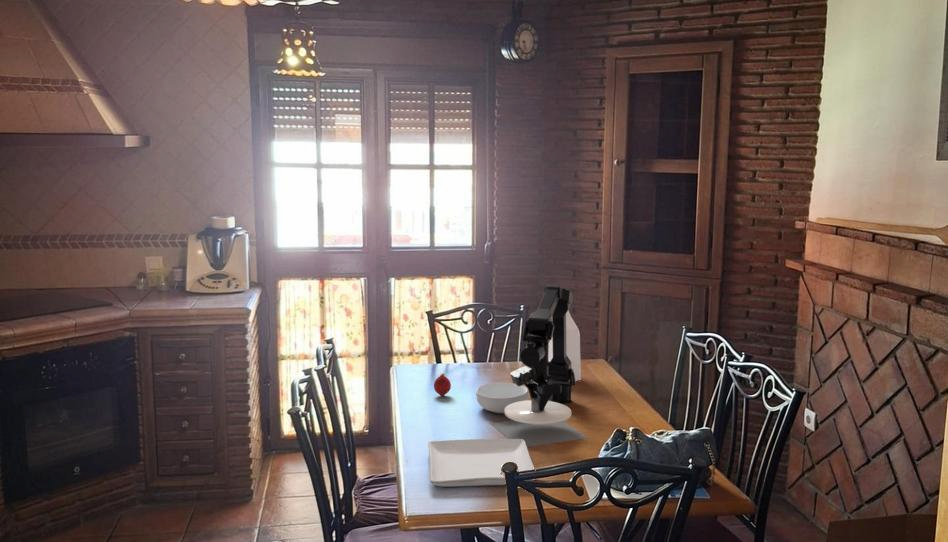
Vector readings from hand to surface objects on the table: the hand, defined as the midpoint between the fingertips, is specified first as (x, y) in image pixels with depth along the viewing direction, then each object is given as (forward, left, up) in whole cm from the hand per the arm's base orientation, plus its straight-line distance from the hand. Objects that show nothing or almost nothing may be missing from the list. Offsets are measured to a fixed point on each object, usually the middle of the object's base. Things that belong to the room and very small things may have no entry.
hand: (537, 408), depth 246 cm
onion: (+15, -43, -8) cm, 46 cm away
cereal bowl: (+2, -22, -8) cm, 23 cm away
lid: (0, 0, -1) cm, 1 cm away
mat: (0, 0, -7) cm, 7 cm away
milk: (-32, -47, -8) cm, 57 cm away
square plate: (+27, +20, -8) cm, 34 cm away
